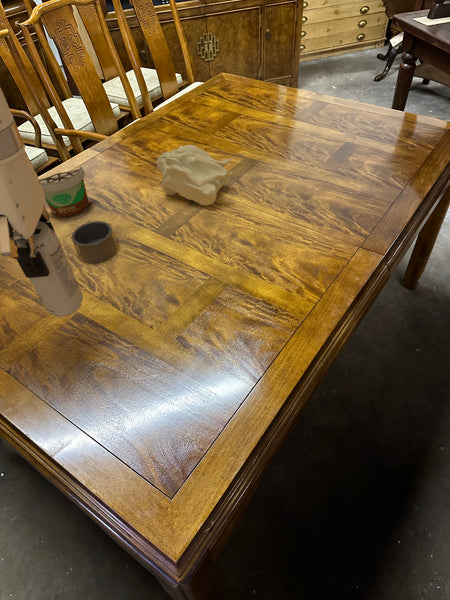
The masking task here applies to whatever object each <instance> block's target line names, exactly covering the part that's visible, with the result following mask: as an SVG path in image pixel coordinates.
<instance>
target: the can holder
mask: <svg viewBox="0 0 450 600" xmlns="http://www.w3.org/2000/svg"><path fill="white" fill-rule="evenodd" d="M70 239H71V241H72V242H73V246H74V249H75V250H76V253H77V255H78V257H79V259H80V260H81V261H82V262H83V263H86V264H99V263H104V262H106V261H108V260H110V259H111V258H113V257H114V256H115V255H116V253H117V251H118V250H119V249H118V248H119V247H118V241H117V239H116V236H115V233H114V230H113V227H112V225H111V224H110V223H108V222H107V221H102V220H96V221H89V222H86V223H83V224H81V225H80V226H78V227H76V228H75V229H74V231H72V233H71V237H70Z"/></svg>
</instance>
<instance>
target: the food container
mask: <svg viewBox="0 0 450 600" xmlns="http://www.w3.org/2000/svg"><path fill="white" fill-rule="evenodd" d="M85 176H86V172H85V170H84V167H82V166H79V168H76V169H73V170H70V171H64V172H63V171H62V172H57V173H54V174H51V175H50V176H47V177H44V178H40V179H39V181H40V183H41V186H42V189H43V191H44V194H45V203H46V204H47V205H48V207H49V209H50V211H51V212H52V213H53V215H54V216H55V217H59V218H71V217H75V216H78V215H80V214H82V213H84V212H85V211H86V210H87V209H88V207H89V205H90V201H89V197H88V192H87V189H86V183H85V180H84V179H85Z"/></svg>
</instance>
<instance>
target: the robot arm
mask: <svg viewBox="0 0 450 600" xmlns="http://www.w3.org/2000/svg"><path fill="white" fill-rule="evenodd" d="M25 149H26V145H25V143H24V140H23V137H22V135H21V132H20V130H19V128H18V126H17V122H16V121H15V119H14V116H13V114H12V111H11V109H10V107H9V105H8V102H7V100H6V97H5V94H4V92H3V89H2V88H1V86H0V254H1V256H2V257H5V258H7V257H8V258H11V259H13V260H16V262H17V263H18V265H19V267H20V268H21V271H22V272H23V274H24V276H25V277H26V278H27V279H29V278H35V277H46V276H48V275H49V270H48V268H47V266H46V264H45V262H44V260H43V258H42V256H41V254H40V252H36V249H35V246H34V242H33V238H32V234H33V233H34V231H35V228H36V226H37V224H38V221H40V222H44V223H46V224H47V226H48V228H50V229H51V230H53V231H54V232H55V233H56V231H55V228H54V226H53V224H52V222H51V216H50V213H49V212H48V211H47V210H46V200H45V194H44V191H43V189H42V186H41V183H40V181H39V180H40V179H39V177H38V174H37V172H36V170H35V168H34V166H33V163H32V162H31V160H30V158H29V156H28V154H27V152H26V151H25ZM14 231H17V232H18V233H19V234H13V232H14ZM20 233H21V234H20ZM16 240H25V243H26V246H27V248H24V247H18V246H17V242H16Z"/></svg>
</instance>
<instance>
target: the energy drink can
mask: <svg viewBox="0 0 450 600" xmlns="http://www.w3.org/2000/svg"><path fill="white" fill-rule="evenodd" d="M13 234H19V233H18V232H17V231H15V230H14V231H13ZM20 234H21V233H20ZM32 238H33V242H34V246H35V249H36V252H40V254H41V256H42V258H43V260H44V262H45V264H46V266H47V268H48V270H49V275H48V276H46V277H35V278H28V279H29V281H30V283H31V284H32V286H33V288H34V290H35V292H36V294H37V296H38V298H39V299H40V301H41V303H42V305H43V307H44V309H45V311H46V312H47V313H49V314H51V315H52V316H56V317H60V318H64V317H68V316H72V315H74V314H75V313H77V311H78V310H79V309H80V308H81V306H82V303H83V300H84V295H83V292H82V290H81V287H80V285H79V282H78V280H77V279H76V276H75V273H74V272H73V269H72V267H71V265H70V262H69V260H68V258H67V256H66V253H65V251H64V249H63V246H62V244H61V242H60V239H59V237H58V235H57V232H56V231H55V232H54V231H53V230H51V229H50V228H48V226H47V224H46V223H44V222H40V221H38V224H37V226H36V228H35V231H34V233H33V234H32ZM16 242H17V246H18V247H24V248H27V246H26V243H25V240H16Z"/></svg>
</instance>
